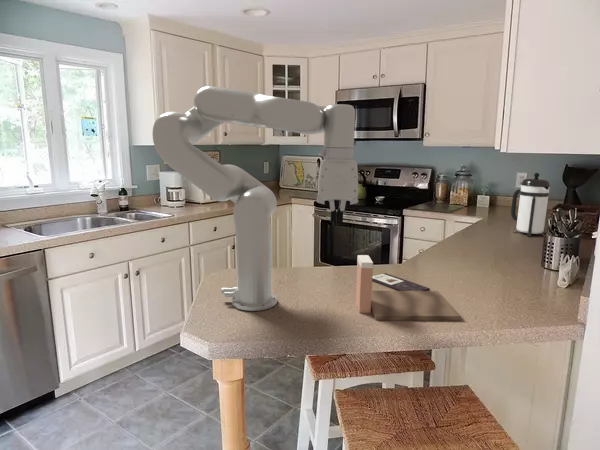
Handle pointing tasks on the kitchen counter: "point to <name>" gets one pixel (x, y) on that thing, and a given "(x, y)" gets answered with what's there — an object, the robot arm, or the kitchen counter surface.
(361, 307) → the slab
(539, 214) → the coffee press
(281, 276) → the kitchen counter surface
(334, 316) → the kitchen counter surface
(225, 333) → the kitchen counter surface
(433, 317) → the board
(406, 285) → the chocolate bar
